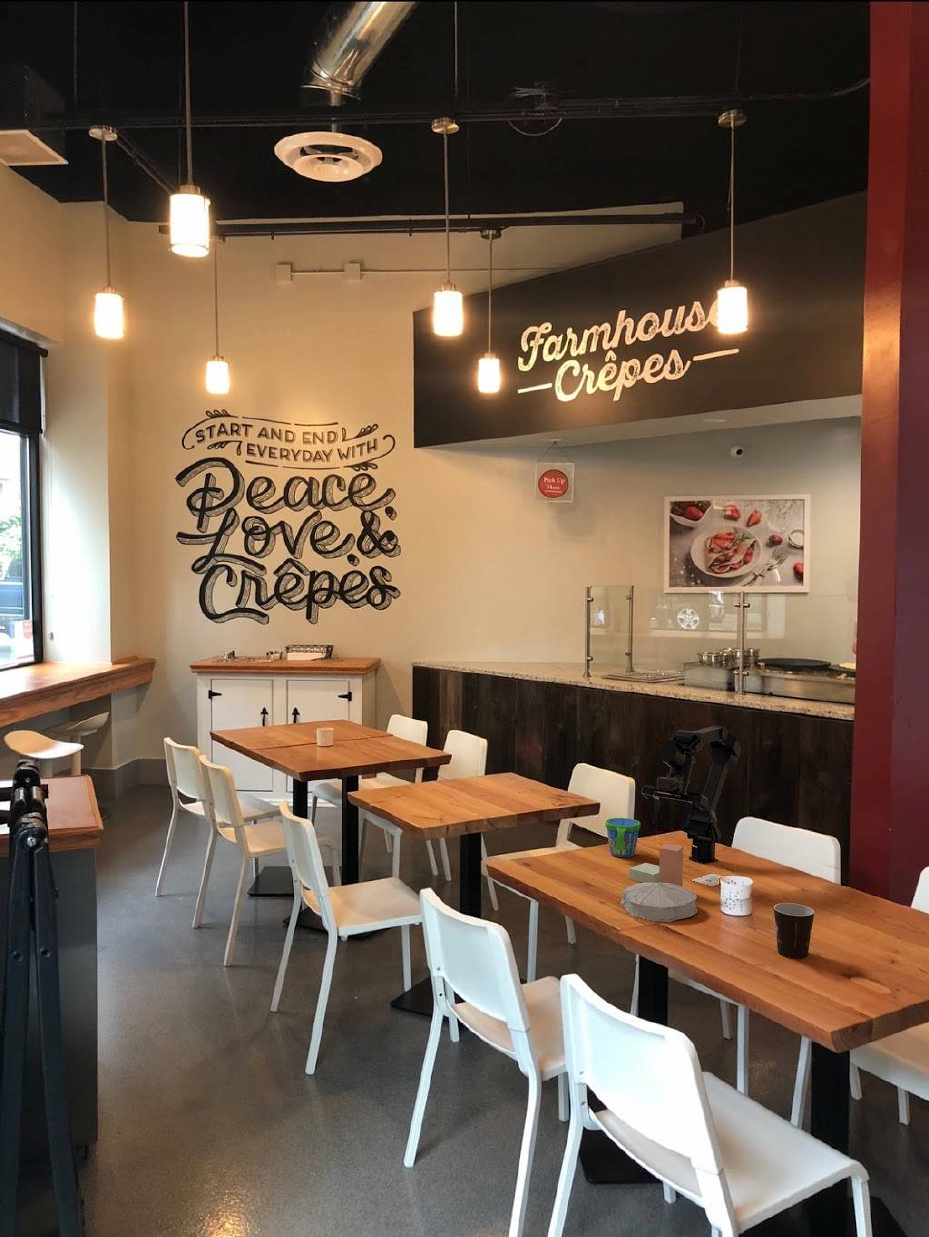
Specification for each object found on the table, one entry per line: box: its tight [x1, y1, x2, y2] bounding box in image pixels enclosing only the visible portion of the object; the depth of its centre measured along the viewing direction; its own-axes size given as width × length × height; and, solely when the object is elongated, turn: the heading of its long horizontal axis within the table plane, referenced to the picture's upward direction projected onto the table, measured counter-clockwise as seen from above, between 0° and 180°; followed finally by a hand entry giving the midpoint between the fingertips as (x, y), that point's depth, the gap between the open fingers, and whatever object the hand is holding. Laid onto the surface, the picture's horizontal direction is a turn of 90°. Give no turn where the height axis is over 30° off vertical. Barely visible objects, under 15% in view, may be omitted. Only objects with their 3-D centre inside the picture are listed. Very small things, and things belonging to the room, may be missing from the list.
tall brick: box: [658, 843, 684, 887], centre depth 259 cm, size 5×5×12 cm
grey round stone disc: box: [619, 882, 698, 923], centre depth 245 cm, size 20×20×7 cm
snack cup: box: [605, 817, 641, 858], centre depth 294 cm, size 16×10×10 cm
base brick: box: [628, 862, 659, 883], centre depth 269 cm, size 8×8×3 cm
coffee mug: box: [773, 902, 815, 960], centre depth 215 cm, size 12×9×10 cm
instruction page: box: [691, 873, 724, 888], centre depth 269 cm, size 10×7×1 cm
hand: (667, 825), depth 272 cm, fingers open, 9 cm apart
